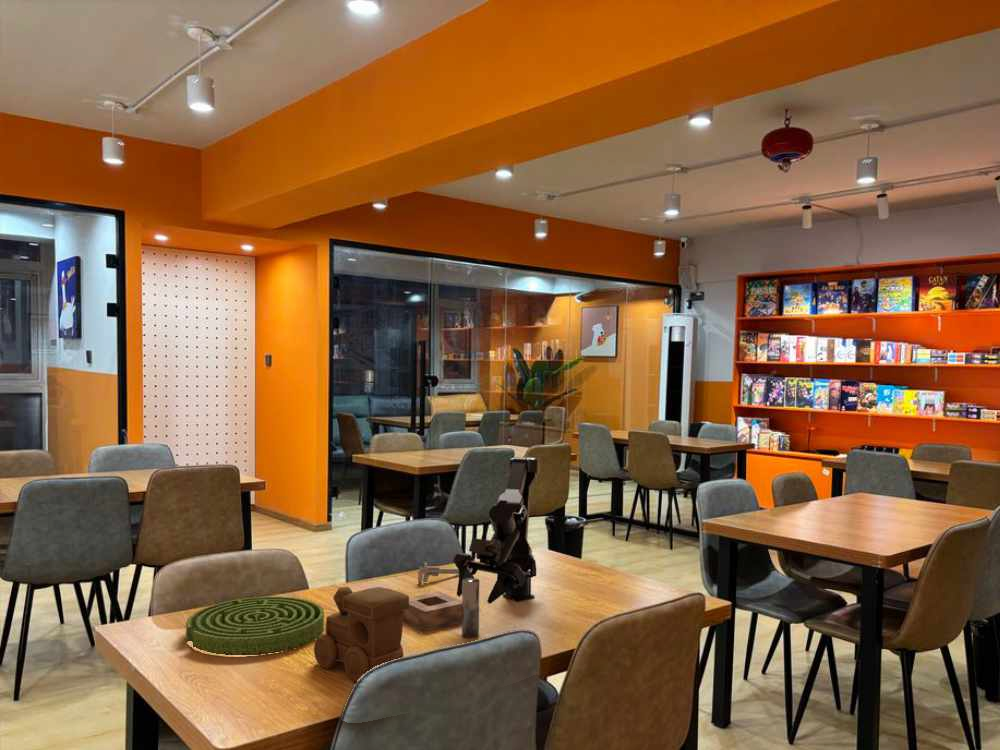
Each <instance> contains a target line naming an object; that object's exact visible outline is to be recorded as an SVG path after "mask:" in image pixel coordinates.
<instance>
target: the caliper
mask: <svg viewBox="0 0 1000 750" xmlns="http://www.w3.org/2000/svg"><path fill="white" fill-rule="evenodd" d="M440 574H441V575H445V574H447V575H449V574H450V575H459V569H458V568H452V567H451V568H449V567H448V568H445V567H444V568H443V567H442V568H441V567H439V566H431V565H430V566H429V565H428V562H421V566H419V568H418V572H417V583H418V585H422V584H423V582H428V580H429V579H430V578H429V577H430V576H432V577H439V575H440Z"/></svg>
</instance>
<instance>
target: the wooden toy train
mask: <svg viewBox="0 0 1000 750" xmlns="http://www.w3.org/2000/svg"><path fill="white" fill-rule="evenodd" d="M332 598H333V600H334V604H335V605H336V607H337V610H338V612H335V613H331V614H330V615H328V616H326V620H325V634H324V633H322V634H321V635H320V636H319V637H318V638H317V639H316V640H315V641H314V645H313V655H314V657H315V660H316V662H317V664H318V665H320V667H321V668H324V669H328V670H330V669H332V668H333V667H334V666H335V665H336V663H337V662H338V661H339V662H341V663H344V664H343V665H344V669H345V671H346V675H347V676H348V677H349V678H350V679H351V680H352V681H354V682H356V681H357V680H358V679H359V678H360V677H361V676H362V675H363V674H365V673H366V672H367V671H369V670H370V669H372V668H373V667H375V666H377V665H380V664H382V663H385V662H388V661H391V660H394V659H398V658H402V657H403V658H404V649H403V646H402V636H403V627H404V622H403V610H406V609H409V598H410V596H409V595H408V594H405V593H403V592H401V591H397V590H394V589H391V588H387V587H380V586H377V587H371V588H366V589H362V590H358V591H354V592H353V590H352V589H351V587H349V586H342V587H341V586H340V587H338V588H337V590H336V592H335V593H334V595H333V597H332Z"/></svg>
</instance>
